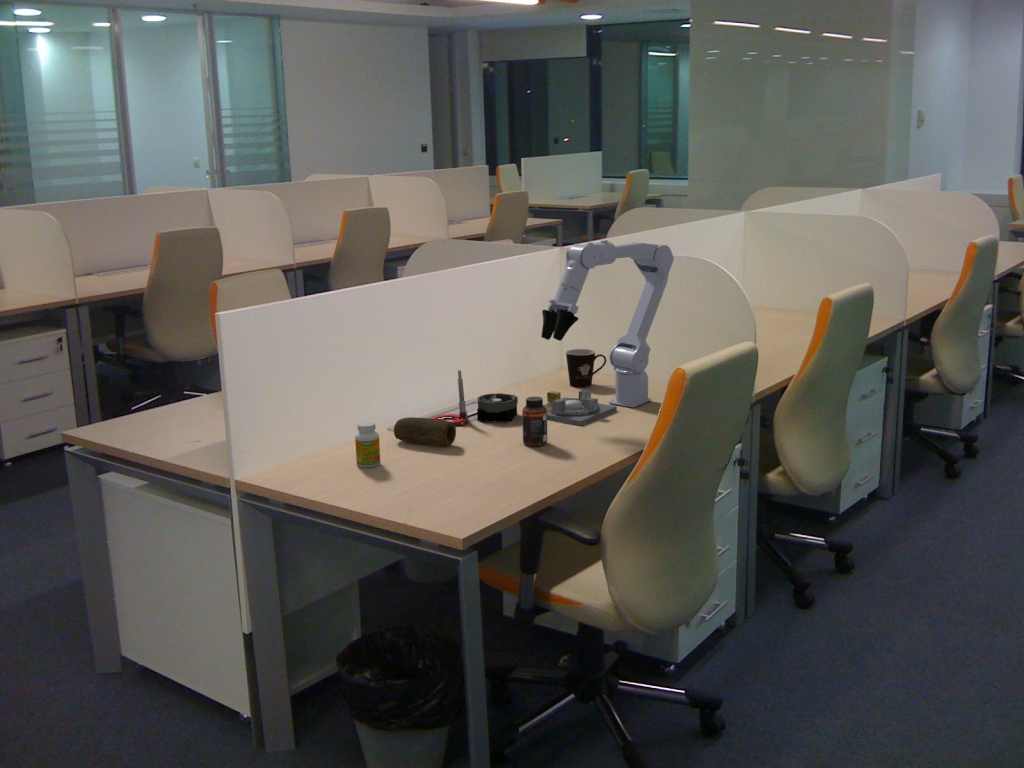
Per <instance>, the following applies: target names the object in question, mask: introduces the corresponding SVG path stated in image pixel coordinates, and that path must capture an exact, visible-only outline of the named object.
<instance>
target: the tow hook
mask: <svg viewBox="0 0 1024 768" xmlns="http://www.w3.org/2000/svg"><path fill="white" fill-rule="evenodd" d="M457 376H458V377H457V385H458V399H459V402H458V406H459V414H456V413H447V414H445V413H444V414H440V415H439V414H438V415H435V416H432V417H431V418H430V419H438V418H442V417H452V418H456V419H457V418H458V420H456V419H454V420H451V421H450V420H448V421H449V422H452V423H453V424H454V426H456V425H457V426H458V425H460V426H462V427H464V426H465V425H466V423H467V420H468V416H469V415H468V413H467V408H466V401H465V394H464V393H465V392H464V382H463V381H464V380H463V377H462V371H461V369H459V370H457Z"/></svg>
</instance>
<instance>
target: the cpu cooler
mask: <svg viewBox="0 0 1024 768" xmlns="http://www.w3.org/2000/svg"><path fill="white" fill-rule="evenodd" d="M518 398H519V397H518V396H517V395H515V394H509V393H502V392H501V393H499V392H498V393H486V394H482V395H480V396H478V397H477V409H476V411H477V413H476V414H477V415H476V416H477V419H476V420H477V421H479V422H480V423H481V422H483V423H485V422H487V423H492V422H493V423H511V422H513V421H514V419H515V417H517V415H518V404H519V403H518V402H519V401H518V400H519V399H518Z"/></svg>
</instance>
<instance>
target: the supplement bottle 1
mask: <svg viewBox="0 0 1024 768" xmlns="http://www.w3.org/2000/svg"><path fill="white" fill-rule="evenodd" d="M357 431H358V432H356V434H355V435H354V439H355V440H354V441H355V455H356V456H355V457H356V465H357V466H358V467H360V468H364V469H371V468H376V467H378V466H379V465H380V464H381V449H380V447H381V446H380V434H379V433H378V431H376V423H375V422H373V421H367V420H366V421H361V422H359V423H357Z"/></svg>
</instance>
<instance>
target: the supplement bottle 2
mask: <svg viewBox="0 0 1024 768" xmlns="http://www.w3.org/2000/svg"><path fill="white" fill-rule="evenodd" d="M543 400H544V399H543V397H542V396H528V397H527V398H525V406H523V407H522V411H521V414H522V417H521V418H522V420H521V421H522V441H523V444H524V445H525V446H527V447H531V448H532V447H542V446H545V445H546V444H548V440H549V439H548V419H547V409H546V407H545V406H543V405H544V401H543Z"/></svg>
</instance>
